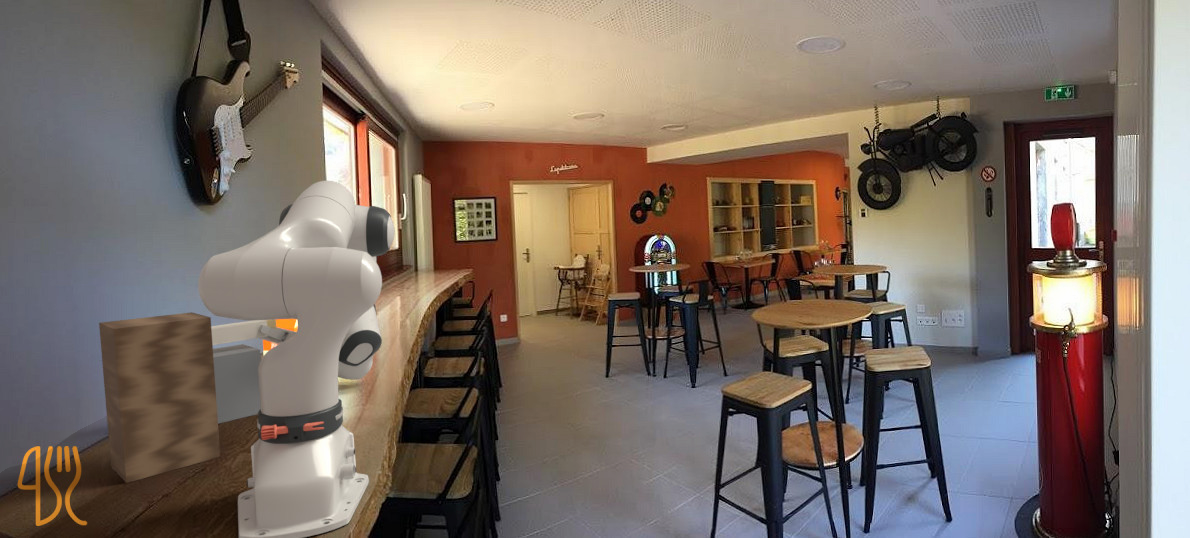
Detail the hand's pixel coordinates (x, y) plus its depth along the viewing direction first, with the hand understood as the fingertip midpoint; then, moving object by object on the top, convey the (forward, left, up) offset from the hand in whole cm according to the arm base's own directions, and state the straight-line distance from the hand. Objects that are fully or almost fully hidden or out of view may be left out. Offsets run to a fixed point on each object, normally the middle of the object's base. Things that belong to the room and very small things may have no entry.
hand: (255, 326), depth 139 cm
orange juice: (+27, -3, -19) cm, 33 cm away
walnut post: (-30, +10, -19) cm, 37 cm away
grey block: (-3, +5, -19) cm, 20 cm away
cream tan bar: (-3, +5, -2) cm, 7 cm away
